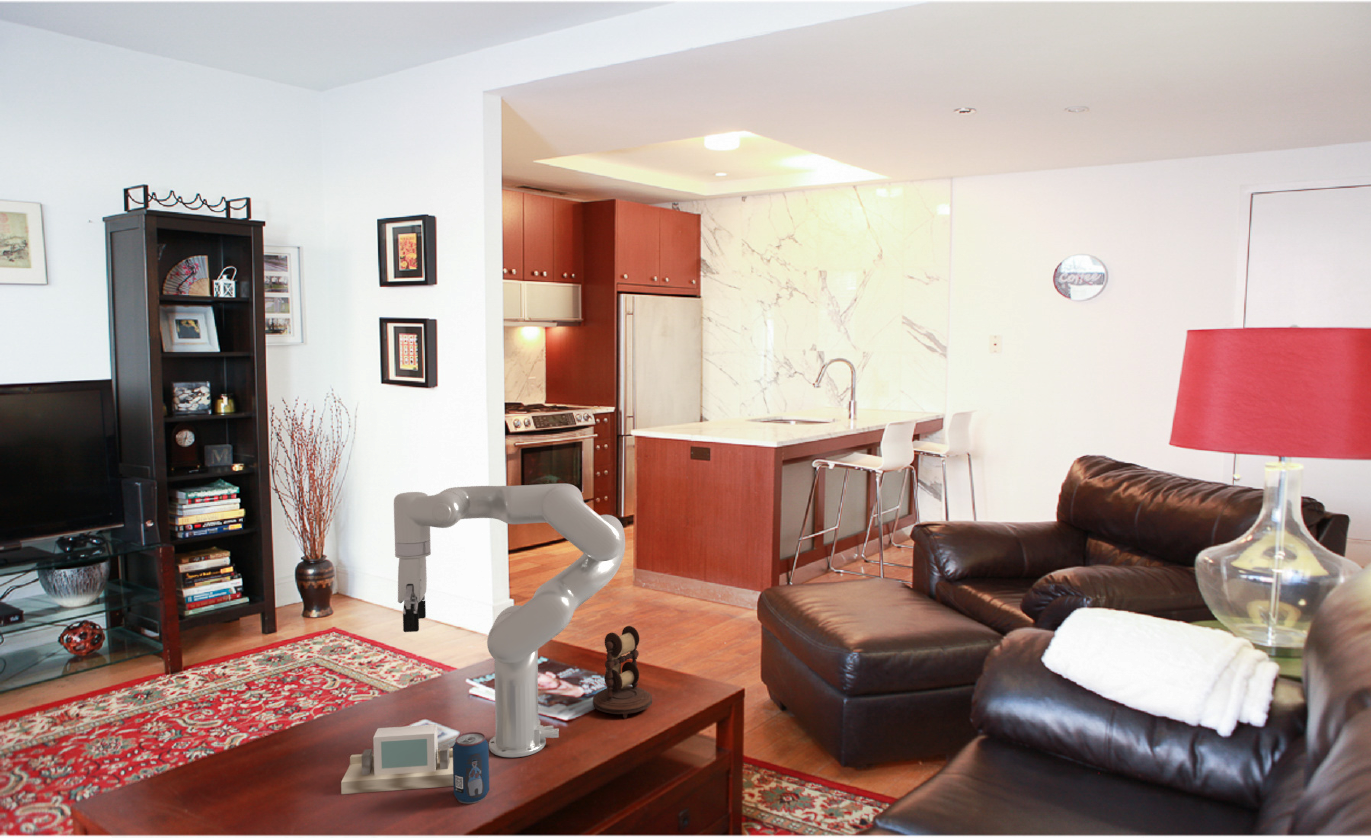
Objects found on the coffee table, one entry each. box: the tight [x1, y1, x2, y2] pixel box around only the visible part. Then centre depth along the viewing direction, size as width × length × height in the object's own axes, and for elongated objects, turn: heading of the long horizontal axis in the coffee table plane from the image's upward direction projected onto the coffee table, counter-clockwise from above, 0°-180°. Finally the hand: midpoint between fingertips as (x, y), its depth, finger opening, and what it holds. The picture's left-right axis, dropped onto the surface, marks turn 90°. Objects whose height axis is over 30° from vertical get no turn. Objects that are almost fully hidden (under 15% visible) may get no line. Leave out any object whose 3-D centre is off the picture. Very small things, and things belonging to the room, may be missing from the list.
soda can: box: [452, 731, 490, 805], centre depth 174 cm, size 7×7×12 cm
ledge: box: [340, 743, 453, 795], centre depth 182 cm, size 24×9×6 cm, turn 98°
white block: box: [372, 724, 439, 776], centre depth 181 cm, size 12×4×8 cm, turn 98°
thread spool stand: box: [592, 625, 653, 720], centre depth 218 cm, size 15×15×20 cm
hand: (414, 624), depth 194 cm, fingers open, 9 cm apart
